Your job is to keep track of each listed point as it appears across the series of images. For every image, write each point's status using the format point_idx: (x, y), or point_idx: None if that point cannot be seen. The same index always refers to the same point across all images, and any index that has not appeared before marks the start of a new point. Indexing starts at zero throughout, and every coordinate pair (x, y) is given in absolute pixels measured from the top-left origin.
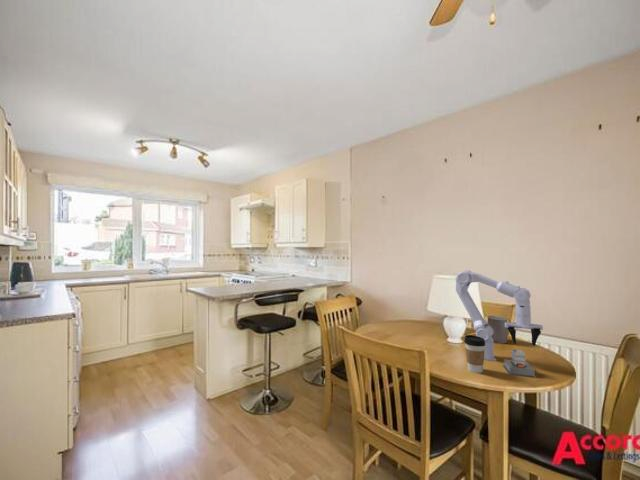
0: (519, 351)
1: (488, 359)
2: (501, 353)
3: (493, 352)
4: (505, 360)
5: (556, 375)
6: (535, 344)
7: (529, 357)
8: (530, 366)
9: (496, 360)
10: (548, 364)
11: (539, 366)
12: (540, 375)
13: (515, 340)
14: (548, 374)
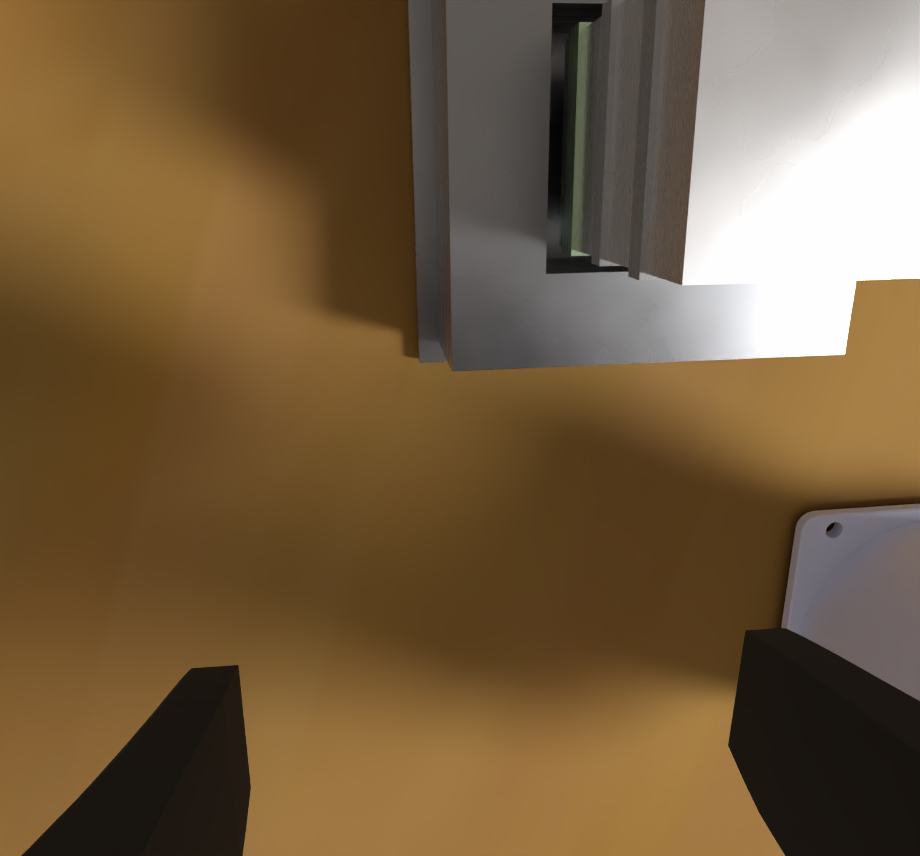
0: (805, 122)
1: (915, 514)
2: (602, 848)
3: (879, 645)
4: (840, 293)
5: (6, 188)
6: (170, 693)
7: (248, 838)
8: (467, 74)
9: (803, 521)
10: (29, 658)
11: (195, 524)
12: (291, 97)
13: (833, 685)
14: (137, 194)
